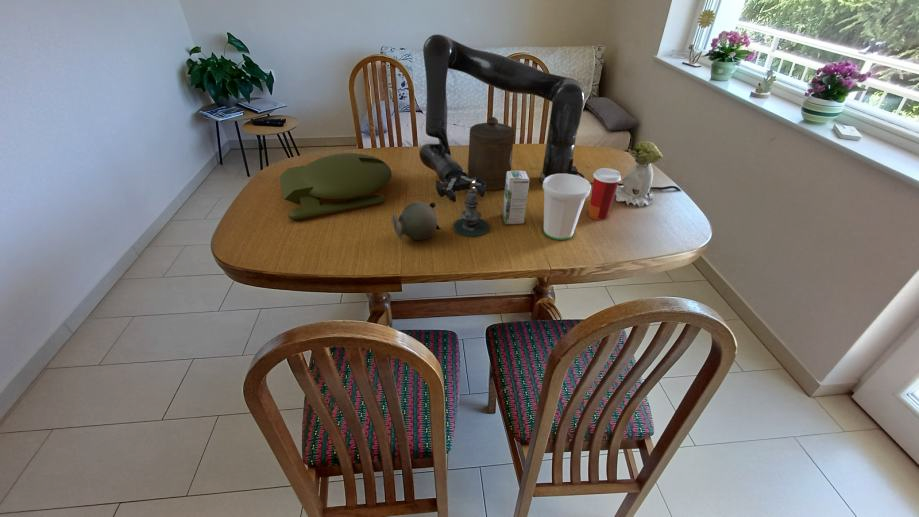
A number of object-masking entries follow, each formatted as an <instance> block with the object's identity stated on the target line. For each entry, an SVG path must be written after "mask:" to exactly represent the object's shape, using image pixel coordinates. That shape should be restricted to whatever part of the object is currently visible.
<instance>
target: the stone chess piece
mask: <svg viewBox="0 0 919 517" xmlns="http://www.w3.org/2000/svg"><path fill="white" fill-rule="evenodd" d="M465 197H466V201H465V202H464V205H465V210H464V211H462V212H461V213H460V217H461V219H462V220H463V223H462V228H463V229H465V230H469V231H473V230H477V229H478V228H479V227H480V224H479V223H478V222H479V220H480V219H482V213H481V212H480V211H478V210H477V208H478V207H477V206H478V205H479V202H478V200H477V199H478V198H477V197H478V193H477V192H475V191H473V189H471V191H467V192H466V196H465Z"/></svg>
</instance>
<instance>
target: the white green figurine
mask: <svg viewBox="0 0 919 517" xmlns="http://www.w3.org/2000/svg"><path fill="white" fill-rule="evenodd" d="M632 149H633V150H632ZM632 149H631V148H628V150H627V151H628V154H629V155H630V156H631V157H632V158H633V159H634V161H635V163H636V164H635V165H634V166H633V167H632V168H631V169H630V170H629V172H627V174H626V175H625V176H624V177H623V179H621V184H623V185H624V186H618V187H617V190H616V193H615V196H616V197H615V200H616V202H625V203H626V206H628V205H630V203H631V204H632V205H633V206H636V205H637V207H639V208H640V207H644V206H645V205H646V206H650V204H651V203H652V202H653V198H654V194H653V192H651V189H650V187H652V185H653V180H654V170H653V167H652V164H655V163H657V162H659V161H660V160H662V158H664V155H663V154H662V152H661V151H660V149H659V147H658V146H656V144H654V143H653V142H650V141H645V140H642V141H638V142H636V143H634V146H633V148H632ZM633 190H636V191H639V192H638V193H637V194H634V191H633Z"/></svg>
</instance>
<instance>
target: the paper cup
mask: <svg viewBox="0 0 919 517" xmlns="http://www.w3.org/2000/svg"><path fill="white" fill-rule="evenodd" d="M592 177H593V181H592V183H593V184H592V186H591V194H590V195H591V196H590V201H589V209H588V216H589V217H590V218H592V219H593V220H598V221H603V220H606V219H608V216H609V213H610V211H611V207H612V204H613V202H614V198H615V196H616V194H615V193H616V190H617V187H618V184H619V183H620V181H622V176H621V172H620V171H619V170H616V169H614V168H610V167H601V168H597V169H596V170H595V171H594V173H593V174H592Z"/></svg>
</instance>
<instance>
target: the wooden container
mask: <svg viewBox="0 0 919 517" xmlns="http://www.w3.org/2000/svg"><path fill="white" fill-rule="evenodd" d="M514 140H515V129H514V128H513V127H512V126H510V125H508V124H504V123H499V120H498V118H496V117H494V116H491V117H488V118H487V120H486V122H482V123H481V122H480V123H477V124H473V125H472V126H471V127H470V129H469V141H468V155H467V156H468V158H467V161H468V162H467V176H468V177H470V178H475V175H479V176H480V177H481V178H482V179H483V180H484V181H485V182H486V190H485V191H496V190H501V189H505V184H506V174H507V171H512V167H513V166H512V164H513V151H514V150H513V149H514ZM475 188H477V186H476V185H475Z"/></svg>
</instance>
